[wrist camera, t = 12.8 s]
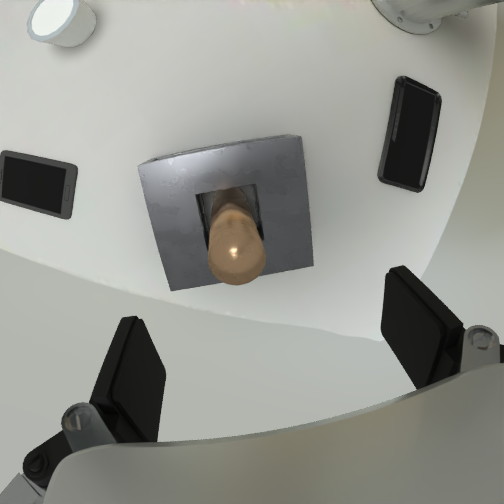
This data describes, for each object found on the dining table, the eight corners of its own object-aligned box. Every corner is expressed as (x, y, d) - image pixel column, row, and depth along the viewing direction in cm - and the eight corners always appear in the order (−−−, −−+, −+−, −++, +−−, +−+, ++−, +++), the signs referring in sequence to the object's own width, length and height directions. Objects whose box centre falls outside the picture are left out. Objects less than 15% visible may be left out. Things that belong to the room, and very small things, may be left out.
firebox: (287, 134, 33) (301, 136, 27) (300, 245, 39) (314, 266, 33) (150, 159, 33) (136, 166, 27) (177, 267, 38) (170, 292, 33)
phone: (442, 94, 31) (422, 194, 37) (437, 94, 32) (418, 192, 38) (398, 72, 30) (377, 181, 36) (394, 73, 31) (373, 179, 37)
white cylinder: (107, 32, 25) (85, 15, 19) (61, 61, 26) (32, 53, 19) (93, -5, 23) (71, -24, 16) (49, 24, 23) (22, 12, 17)
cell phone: (72, 219, 34) (69, 221, 34) (-2, 198, 32) (-5, 200, 31) (80, 164, 32) (77, 165, 31) (3, 148, 29) (0, 149, 28)
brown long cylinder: (209, 189, 35) (202, 238, 20) (243, 183, 35) (261, 227, 20) (216, 225, 37) (215, 295, 22) (249, 219, 37) (270, 285, 22)
